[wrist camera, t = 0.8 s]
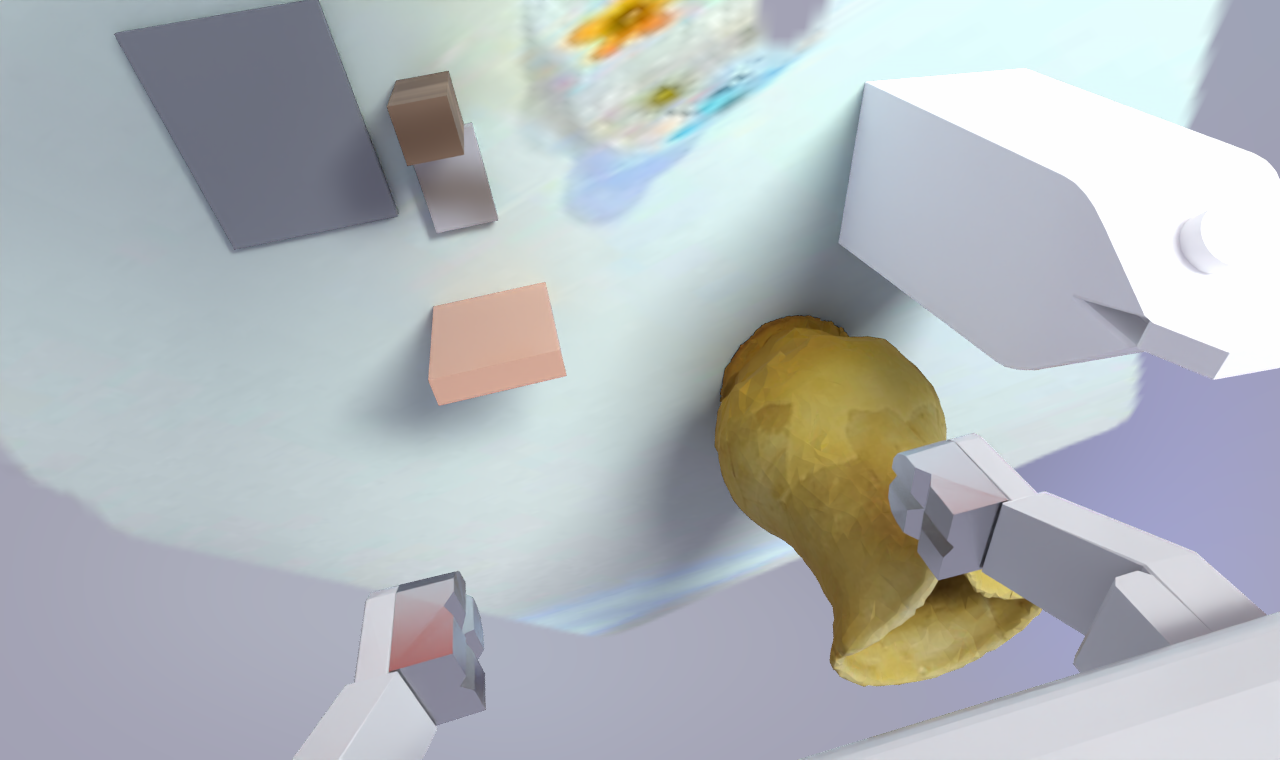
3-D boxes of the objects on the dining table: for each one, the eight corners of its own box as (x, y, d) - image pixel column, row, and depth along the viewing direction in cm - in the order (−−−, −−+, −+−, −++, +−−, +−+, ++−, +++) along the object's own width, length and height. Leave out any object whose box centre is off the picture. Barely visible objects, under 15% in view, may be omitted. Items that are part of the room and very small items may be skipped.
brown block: (387, 82, 37) (376, 108, 32) (457, 69, 37) (456, 93, 33) (437, 228, 43) (434, 269, 38) (497, 215, 43) (502, 254, 38)
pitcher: (917, 297, 54) (1151, 539, 35) (830, 456, 65) (972, 708, 46) (728, 274, 50) (877, 540, 30) (668, 450, 60) (750, 727, 41)
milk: (838, 243, 50) (1100, 479, 30) (865, 81, 43) (1231, 245, 23) (978, 225, 52) (1314, 436, 31) (1025, 68, 45) (1496, 207, 25)
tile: (433, 306, 46) (428, 380, 39) (545, 281, 46) (560, 349, 39) (442, 331, 47) (439, 407, 40) (551, 306, 48) (567, 377, 41)
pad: (117, 32, 33) (113, 33, 33) (317, -2, 34) (316, -1, 34) (236, 246, 40) (234, 249, 40) (398, 213, 41) (397, 216, 41)
